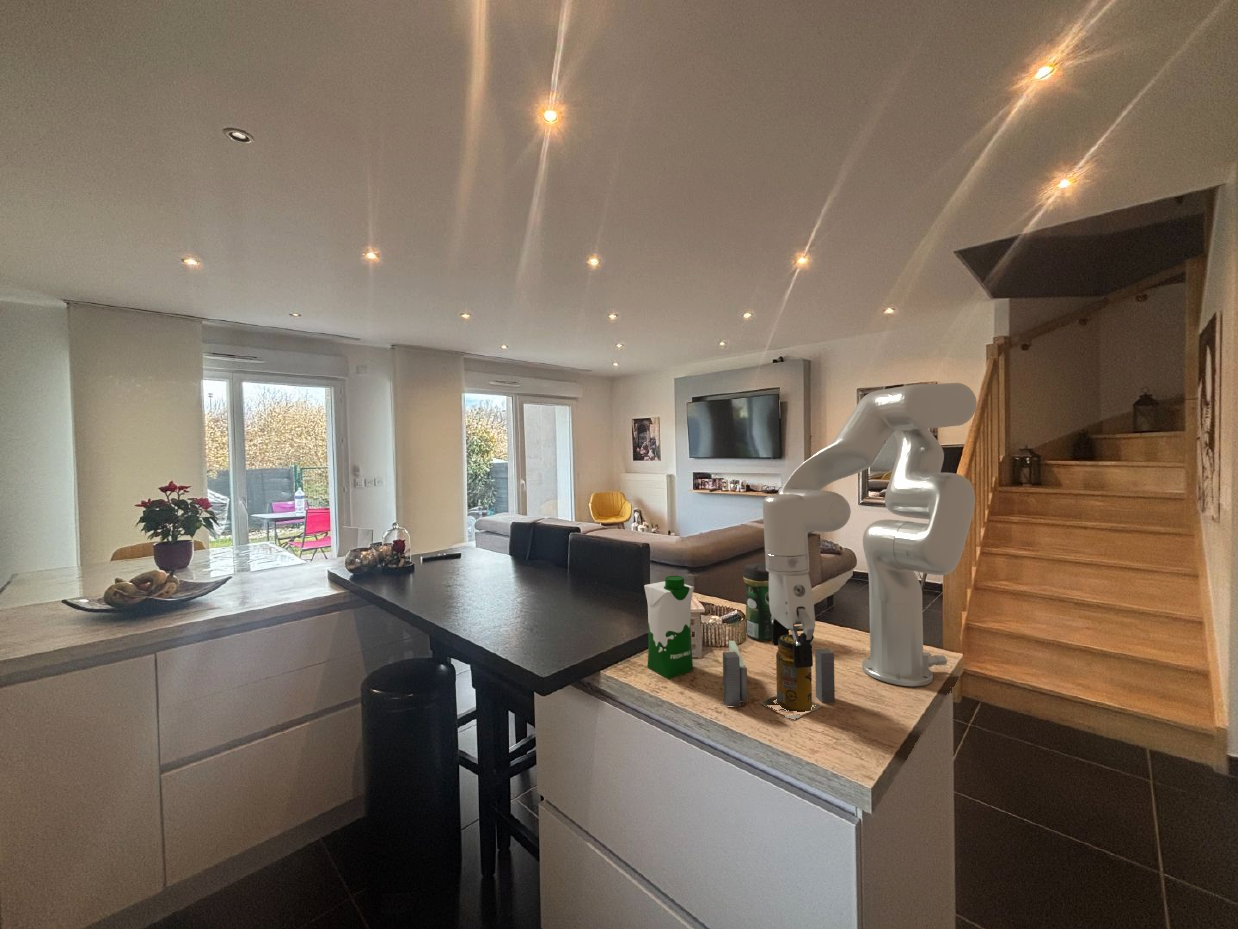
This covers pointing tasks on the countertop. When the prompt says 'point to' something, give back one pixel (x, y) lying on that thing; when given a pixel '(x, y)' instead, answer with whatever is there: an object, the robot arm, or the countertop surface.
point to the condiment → (791, 681)
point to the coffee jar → (757, 602)
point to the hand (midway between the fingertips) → (791, 655)
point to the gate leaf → (743, 672)
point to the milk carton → (669, 626)
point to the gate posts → (822, 669)
